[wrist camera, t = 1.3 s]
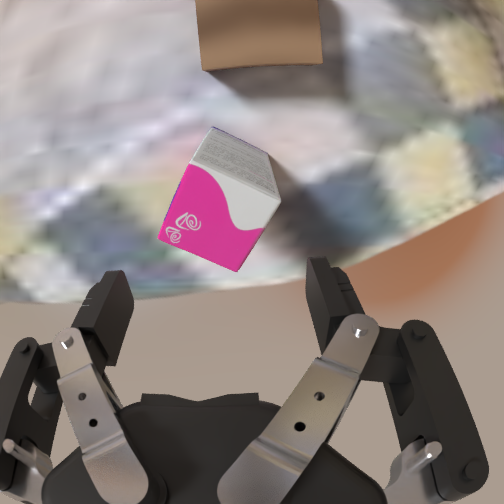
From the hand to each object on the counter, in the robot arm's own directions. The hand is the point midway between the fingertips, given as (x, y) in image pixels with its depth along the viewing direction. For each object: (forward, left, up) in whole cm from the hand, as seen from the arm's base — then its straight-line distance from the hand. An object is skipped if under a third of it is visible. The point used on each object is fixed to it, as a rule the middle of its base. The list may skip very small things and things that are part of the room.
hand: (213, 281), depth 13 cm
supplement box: (0, 0, -17) cm, 17 cm away
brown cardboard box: (-14, +3, -17) cm, 22 cm away
